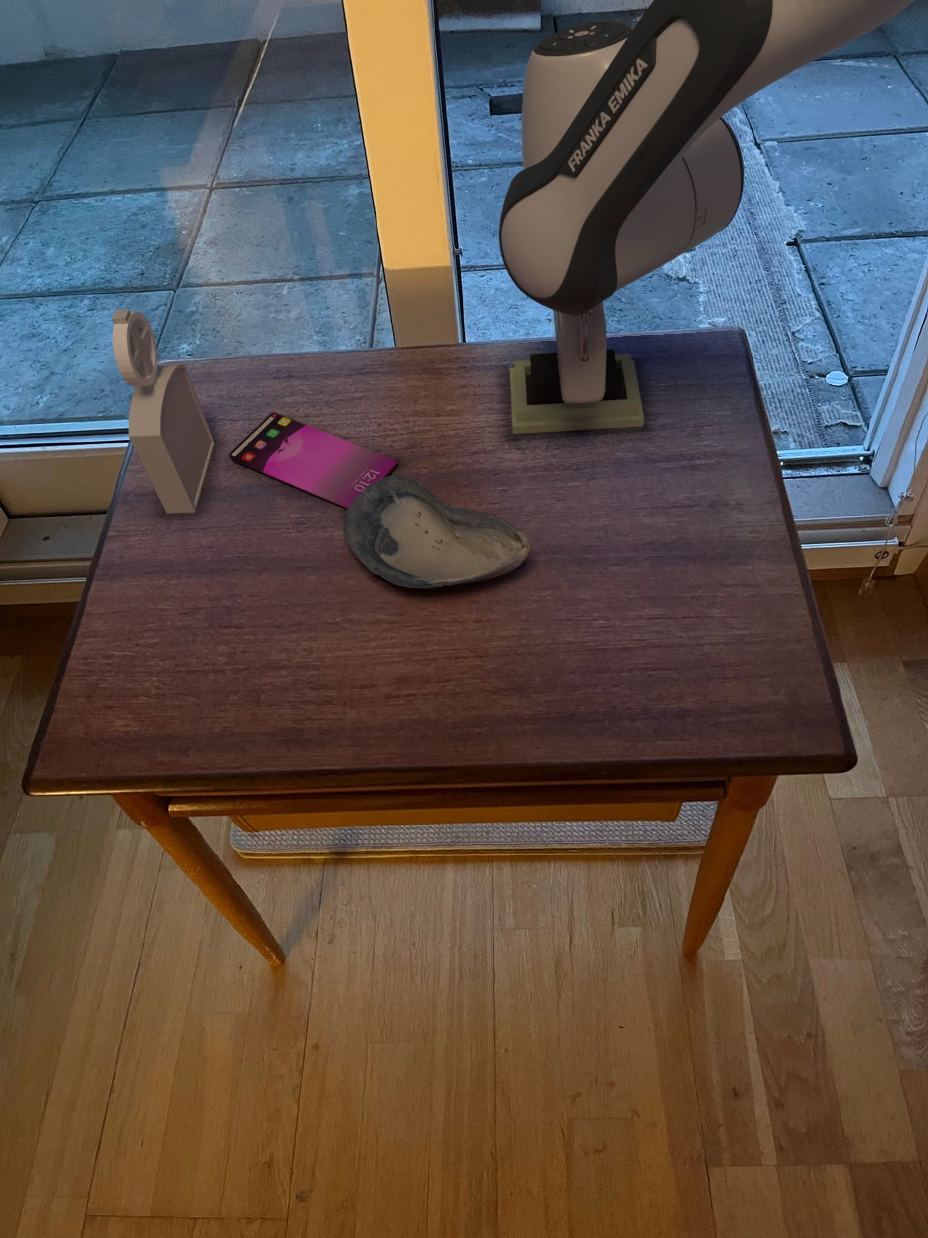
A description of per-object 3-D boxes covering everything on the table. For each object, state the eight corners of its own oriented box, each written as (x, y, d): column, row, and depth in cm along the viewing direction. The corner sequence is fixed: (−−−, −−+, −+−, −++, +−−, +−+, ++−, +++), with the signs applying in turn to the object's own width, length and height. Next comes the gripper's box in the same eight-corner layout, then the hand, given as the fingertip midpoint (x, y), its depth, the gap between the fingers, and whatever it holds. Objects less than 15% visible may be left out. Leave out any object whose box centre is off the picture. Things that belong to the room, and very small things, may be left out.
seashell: (515, 492, 83) (513, 451, 79) (535, 600, 75) (534, 560, 71) (347, 513, 83) (337, 473, 79) (350, 623, 75) (339, 584, 71)
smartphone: (276, 417, 91) (273, 410, 91) (400, 463, 86) (399, 456, 85) (229, 462, 88) (227, 455, 87) (356, 514, 82) (354, 507, 82)
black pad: (612, 373, 90) (614, 348, 87) (617, 403, 87) (618, 377, 85) (530, 379, 90) (530, 353, 88) (532, 408, 88) (532, 383, 85)
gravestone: (215, 442, 90) (151, 279, 76) (195, 512, 84) (121, 350, 70) (188, 443, 90) (119, 280, 76) (166, 513, 85) (87, 351, 70)
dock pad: (633, 367, 92) (634, 349, 90) (643, 426, 87) (645, 408, 85) (509, 375, 93) (509, 357, 91) (512, 434, 87) (511, 416, 86)
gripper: (628, 315, 70) (618, 450, 81) (604, 179, 82) (598, 312, 93) (546, 320, 70) (546, 454, 81) (533, 184, 83) (536, 316, 94)
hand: (574, 377), depth 87 cm, fingers closed on black pad, 4 cm apart
